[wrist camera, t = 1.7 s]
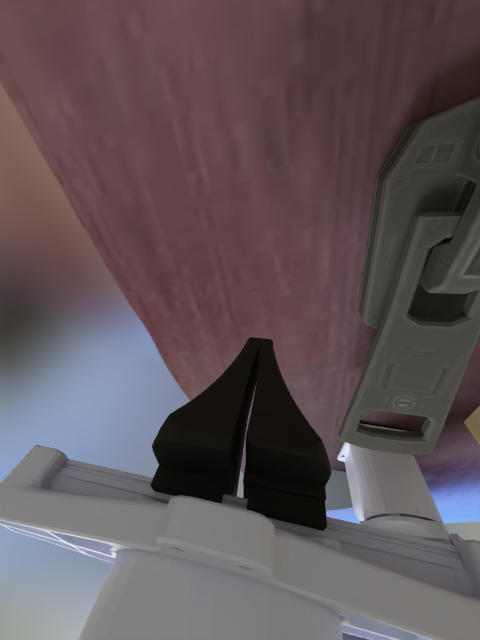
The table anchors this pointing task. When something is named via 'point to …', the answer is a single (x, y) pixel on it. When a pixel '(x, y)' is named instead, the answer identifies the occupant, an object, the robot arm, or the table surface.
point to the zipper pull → (421, 281)
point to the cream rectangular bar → (474, 424)
